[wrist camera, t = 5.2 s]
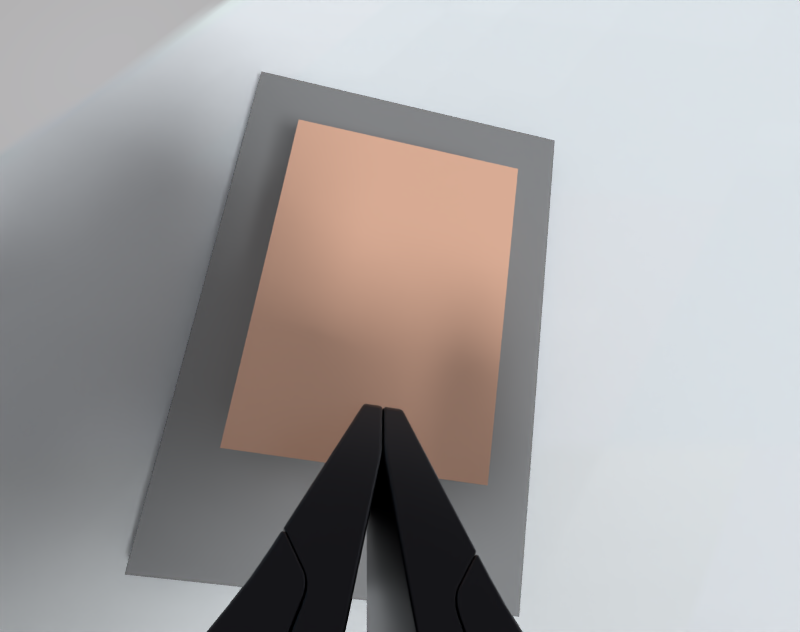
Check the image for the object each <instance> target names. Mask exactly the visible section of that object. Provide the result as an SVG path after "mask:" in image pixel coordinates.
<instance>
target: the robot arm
mask: <svg viewBox="0 0 800 632" xmlns="http://www.w3.org/2000/svg"><path fill="white" fill-rule="evenodd" d="M366 530H367V632H522V630H521V629H520V627H519V625H518V624H517V622H516V621H515V619H514V617H513V616H512V614H511V613H510V611H509V609H508V608H507V606H506V604H505V603H504V601H503V599H502V597H501V595H500V594H499V592H498V590H497V588H496V586H495V585H494V583H493V581H492V579H491V577H490V576H489V574H488V572H487V570H486V568H485V566H484V564H483V562H482V560H481V558H480V556H479V555H476V549H475V547H474V545H473V543H472V541H471V540H470V538H469V536H468V534H467V532H466V530H465V528H464V526H463V524H462V522H461V520H460V518H459V517H458V515H457V513H456V511H455V509H454V507H453V505H452V503H451V501H450V499H449V497H448V496H447V494H446V492H445V490H444V488H443V486H442V484H441V482H440V480H439V478H438V476H437V475H436V473H435V471H434V469H433V467H432V465H431V463H430V461H429V459H428V457H427V455H426V454H425V452H424V450H423V448H422V446H421V444H420V442H419V440H418V438H417V436H416V434H415V432H414V431H413V429H412V427H411V425H410V423H409V421H408V419H407V417H406V415H405V413H404V412H403V410H401V409H398V408H391V407H384V408H383V409H382V407H381V406H379V405H372V404H364V405H363V406H362V407H361V408H360V410H359V411H358V413H357V415H356V416H355V418H354V419H353V421H352V422H351V424H350V425H349V427H348V429H347V430H346V432H345V433H344V435H343V436H342V438H341V439H340V441H339V443H338V444H337V446H336V447H335V449H334V450H333V452H332V453H331V455H330V456H329V458H328V460H327V461H326V463H325V464H324V466H323V467H322V469H321V470H320V472H319V474H318V475H317V477H316V478H315V480H314V481H313V483H312V484H311V486H310V487H309V489H308V491H307V492H306V494H305V495H304V497H303V498H302V500H301V501H300V503H299V505H298V506H297V508H296V509H295V511H294V512H293V514H292V515H291V517H290V519H289V520H288V522H287V523H286V525H285V526H284V528H283V531H281V532H280V534H279V535H278V537H277V538H276V540H275V541H274V543H273V544H272V546H271V547H270V549H269V551H268V552H267V553H266V555H265V556H264V558H263V559H262V561H261V562H260V564H259V565H258V566H257V568H256V569H255V571H254V572H253V574H252V575H251V577H250V578H249V579H248V581H247V582H246V583H245V584H244V586H243V587H242V588H241V590H240V591H239V592H238V593H237V595H236V596H235V597H234V599H233V600H232V601H231V602H230V604H229V605H228V606H227V608H226V609H225V610H224V611H223V613H222V614H221V615H220V616H219V617H218V619H217V620H216V621H215V622H214V623H213V625H212V626H211V627H210V628H209V630H208V631H207V632H345V630H346V625H347V621H348V616H349V611H350V606H351V602H352V597H353V592H354V587H355V583H356V578H357V573H358V568H359V563H360V559H361V554H362V549H363V544H364V540H365V535H366Z"/></svg>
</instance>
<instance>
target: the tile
mask: <svg viewBox="0 0 800 632" xmlns="http://www.w3.org/2000/svg"><path fill="white" fill-rule="evenodd" d="M517 175H518V169H516V168H512V167H508V166H503V165H499V164H494V163H490V162H485V161H481V160H477V159H472V158H468V157H463V156H459V155H454V154H450V153H446V152H441V151H437V150H432V149H428V148H423V147H419V146H415V145H410V144H406V143H401V142H397V141H392V140H388V139H384V138H379V137H375V136H370V135H366V134H361V133H357V132H353V131H348V130H344V129H339V128H335V127H330V126H326V125H322V124H317V123H313V122H308V121H304V120H298V124H297V129H296V133H295V137H294V141H293V145H292V150H291V154H290V158H289V162H288V166H287V170H286V175H285V179H284V183H283V187H282V191H281V195H280V200H279V204H278V208H277V212H276V216H275V220H274V225H273V229H272V233H271V237H270V241H269V246H268V250H267V254H266V258H265V262H264V266H263V271H262V275H261V279H260V283H259V287H258V291H257V296H256V300H255V304H254V308H253V312H252V316H251V321H250V325H249V329H248V333H247V337H246V342H245V346H244V350H243V354H242V358H241V362H240V367H239V371H238V375H237V379H236V383H235V387H234V392H233V396H232V400H231V404H230V408H229V412H228V417H227V421H226V425H225V429H224V433H223V437H222V442H221V446H220V448H225V449H232V450H239V451H246V452H253V453H260V454H267V455H274V456H281V457H289V458H296V459H303V460H310V461H317V462H324V463H326V461H327V460H328V458H329V456H330V455H331V453H332V452H333V450H334V449H335V447H336V446H337V444H338V443H339V441H340V439H341V438H342V436H343V435H344V433H345V432H346V430H347V429H348V427H349V425H350V424H351V422H352V421H353V419H354V418H355V416H356V415H357V413H358V411H359V410H360V408H361V407H362V406H363V405H364V404H372V405H379V406H381V407H382V409H383V408H384V407H391V408H398V409H401V410H403V412H404V413H405V415H406V417H407V419H408V421H409V423H410V425H411V427H412V429H413V431H414V432H415V434H416V436H417V438H418V440H419V442H420V444H421V446H422V448H423V450H424V452H425V454H426V455H427V457H428V459H429V461H430V463H431V465H432V467H433V469H434V471H435V473H436V475H437V476H438V478H439V479H445V480H452V481H459V482H466V483H473V484H480V485H487V486H488V477H489V466H490V456H491V446H492V435H493V425H494V414H495V404H496V393H497V383H498V373H499V362H500V352H501V341H502V331H503V320H504V310H505V300H506V289H507V279H508V268H509V258H510V248H511V237H512V227H513V216H514V206H515V195H516V185H517Z"/></svg>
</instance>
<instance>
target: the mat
mask: <svg viewBox="0 0 800 632" xmlns="http://www.w3.org/2000/svg"><path fill="white" fill-rule="evenodd" d="M298 120H304V121H308V122H313V123H317V124H322V125H326V126H330V127H335V128H339V129H344V130H348V131H353V132H357V133H361V134H366V135H370V136H375V137H379V138H384V139H388V140H392V141H397V142H401V143H406V144H410V145H415V146H419V147H423V148H428V149H432V150H437V151H441V152H446V153H450V154H454V155H459V156H463V157H468V158H472V159H477V160H481V161H485V162H490V163H494V164H499V165H503V166H508V167H512V168H516V169H518V175H517V185H516V195H515V206H514V216H513V227H512V237H511V248H510V258H509V268H508V279H507V289H506V300H505V310H504V320H503V331H502V341H501V352H500V362H499V373H498V383H497V393H496V404H495V414H494V425H493V435H492V446H491V456H490V466H489V477H488V486H487V485H480V484H473V483H466V482H459V481H452V480H445V479H439V480H440V482H441V484H442V486H443V488H444V490H445V492H446V494H447V496H448V497H449V499H450V501H451V503H452V505H453V507H454V509H455V511H456V513H457V515H458V517H459V518H460V520H461V522H462V524H463V526H464V528H465V530H466V532H467V534H468V536H469V538H470V540H471V541H472V543H473V545H474V547H475V549H476V555H479V556H480V558H481V560H482V562H483V564H484V566H485V568H486V570H487V572H488V574H489V576H490V577H491V579H492V581H493V583H494V585H495V586H496V588H497V590H498V592H499V594H500V595H501V597H502V599H503V601H504V603H505V604H506V606H507V608H508V609H509V611H510V613H511V614H512V616H518V617H519V611H520V597H521V584H522V571H523V557H524V544H525V530H526V517H527V503H528V490H529V477H530V463H531V450H532V436H533V423H534V410H535V396H536V383H537V369H538V356H539V342H540V329H541V316H542V302H543V289H544V275H545V262H546V249H547V235H548V222H549V208H550V195H551V181H552V168H553V155H554V140H550V139H546V138H541V137H537V136H533V135H529V134H524V133H520V132H516V131H512V130H507V129H503V128H499V127H495V126H490V125H486V124H482V123H478V122H474V121H469V120H465V119H461V118H457V117H452V116H448V115H444V114H440V113H435V112H431V111H427V110H423V109H418V108H414V107H410V106H406V105H401V104H397V103H393V102H389V101H384V100H380V99H376V98H372V97H367V96H363V95H359V94H355V93H350V92H346V91H342V90H338V89H333V88H329V87H325V86H321V85H316V84H312V83H308V82H304V81H299V80H295V79H291V78H287V77H282V76H278V75H274V74H270V73H265V72H261V75H260V79H259V82H258V86H257V90H256V93H255V97H254V101H253V104H252V108H251V112H250V116H249V119H248V123H247V127H246V130H245V134H244V138H243V141H242V145H241V149H240V152H239V156H238V160H237V163H236V167H235V171H234V174H233V178H232V182H231V185H230V189H229V193H228V196H227V200H226V204H225V207H224V211H223V215H222V219H221V222H220V226H219V230H218V233H217V237H216V241H215V244H214V248H213V252H212V255H211V259H210V263H209V266H208V270H207V274H206V277H205V281H204V285H203V288H202V292H201V296H200V299H199V303H198V307H197V310H196V314H195V318H194V322H193V325H192V329H191V333H190V336H189V340H188V344H187V347H186V351H185V355H184V358H183V362H182V366H181V369H180V373H179V377H178V380H177V384H176V388H175V391H174V395H173V399H172V402H171V406H170V410H169V413H168V417H167V421H166V425H165V428H164V432H163V436H162V439H161V443H160V447H159V450H158V454H157V458H156V461H155V465H154V469H153V472H152V476H151V480H150V483H149V487H148V491H147V494H146V498H145V502H144V505H143V509H142V513H141V516H140V520H139V524H138V527H137V531H136V535H135V539H134V542H133V546H132V550H131V553H130V557H129V561H128V564H127V568H126V572H125V574H126V575H136V576H145V577H154V578H164V579H173V580H182V581H192V582H201V583H210V584H220V585H229V586H238V587H243V586H244V584H245V583H246V582H247V581H248V579H249V578H250V577H251V575H252V574H253V572H254V571H255V569H256V568H257V566H258V565H259V564H260V562H261V561H262V559H263V558H264V556H265V555H266V553H267V552H268V551H269V549H270V547H271V546H272V544H273V543H274V541H275V540H276V538H277V537H278V535H279V534H280V532H281V531H283V528H284V526H285V525H286V523H287V522H288V520H289V519H290V517H291V515H292V514H293V512H294V511H295V509H296V508H297V506H298V505H299V503H300V501H301V500H302V498H303V497H304V495H305V494H306V492H307V491H308V489H309V487H310V486H311V484H312V483H313V481H314V480H315V478H316V477H317V475H318V474H319V472H320V470H321V469H322V467H323V466H324V464H325V463H324V462H317V461H310V460H303V459H296V458H289V457H281V456H274V455H267V454H260V453H253V452H246V451H239V450H232V449H225V448H220V446H221V442H222V437H223V433H224V429H225V425H226V421H227V417H228V412H229V408H230V404H231V400H232V396H233V392H234V387H235V383H236V379H237V375H238V371H239V367H240V362H241V358H242V354H243V350H244V346H245V342H246V337H247V333H248V329H249V325H250V321H251V316H252V312H253V308H254V304H255V300H256V296H257V291H258V287H259V283H260V279H261V275H262V271H263V266H264V262H265V258H266V254H267V250H268V246H269V241H270V237H271V233H272V229H273V225H274V220H275V216H276V212H277V208H278V204H279V200H280V195H281V191H282V187H283V183H284V179H285V175H286V170H287V166H288V162H289V158H290V154H291V150H292V145H293V141H294V137H295V133H296V129H297V124H298ZM352 599H359V600H367V530H366V535H365V540H364V544H363V549H362V554H361V559H360V563H359V568H358V573H357V578H356V583H355V587H354V592H353V597H352Z"/></svg>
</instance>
